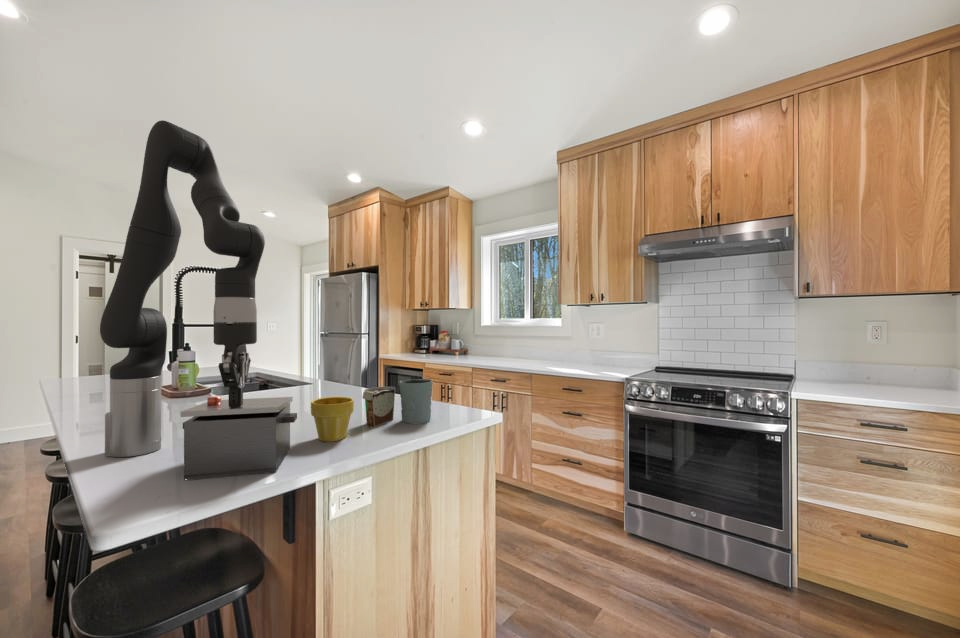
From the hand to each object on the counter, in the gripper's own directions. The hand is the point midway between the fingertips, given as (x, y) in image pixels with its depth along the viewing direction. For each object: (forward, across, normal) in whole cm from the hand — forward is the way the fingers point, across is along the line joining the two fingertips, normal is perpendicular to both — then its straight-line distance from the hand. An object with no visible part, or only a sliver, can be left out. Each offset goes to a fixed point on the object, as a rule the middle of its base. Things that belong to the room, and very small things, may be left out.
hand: (235, 406), depth 84 cm
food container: (+13, -34, +28) cm, 46 cm away
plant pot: (+13, -20, +17) cm, 30 cm away
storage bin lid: (+1, -5, 0) cm, 6 cm away
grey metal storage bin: (+13, -6, 0) cm, 14 cm away
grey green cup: (+13, -34, +40) cm, 54 cm away
